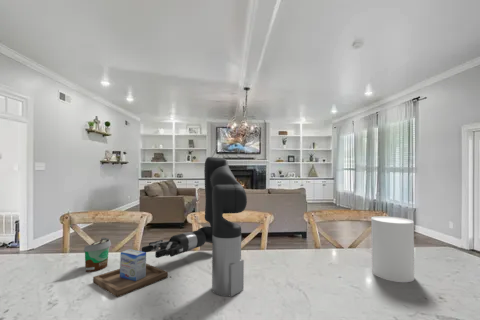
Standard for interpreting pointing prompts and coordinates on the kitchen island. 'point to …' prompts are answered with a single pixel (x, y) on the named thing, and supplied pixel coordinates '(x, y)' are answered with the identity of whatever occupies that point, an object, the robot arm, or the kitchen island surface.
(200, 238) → the robot arm
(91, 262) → the food container
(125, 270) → the medicine box
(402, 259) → the canister
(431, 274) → the kitchen island surface
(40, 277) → the kitchen island surface
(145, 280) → the walnut tray
